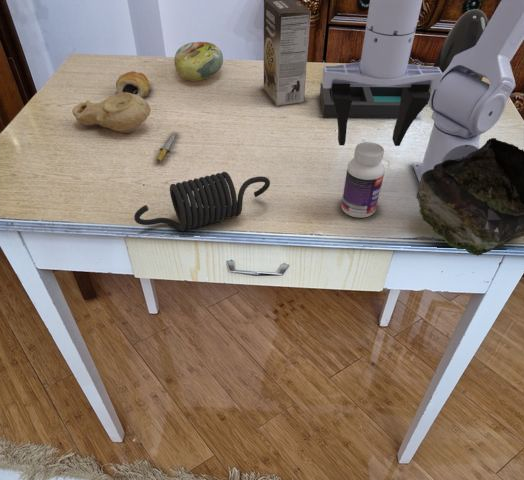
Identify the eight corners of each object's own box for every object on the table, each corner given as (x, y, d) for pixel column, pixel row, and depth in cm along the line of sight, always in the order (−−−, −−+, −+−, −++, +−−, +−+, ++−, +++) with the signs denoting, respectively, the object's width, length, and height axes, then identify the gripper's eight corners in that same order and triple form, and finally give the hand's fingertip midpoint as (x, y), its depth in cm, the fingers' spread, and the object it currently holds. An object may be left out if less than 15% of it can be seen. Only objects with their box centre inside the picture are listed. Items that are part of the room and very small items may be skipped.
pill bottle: (374, 220, 70) (388, 160, 62) (339, 216, 71) (348, 156, 63) (376, 201, 73) (389, 141, 66) (342, 197, 74) (352, 137, 66)
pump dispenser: (479, 107, 95) (510, 20, 83) (427, 103, 96) (451, 16, 84) (473, 87, 101) (501, 3, 89) (425, 83, 102) (446, 0, 90)
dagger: (169, 130, 86) (179, 133, 86) (169, 135, 87) (179, 138, 87) (152, 157, 79) (164, 159, 79) (152, 161, 80) (164, 164, 80)
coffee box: (262, 88, 100) (262, -2, 87) (290, 85, 101) (294, -5, 89) (275, 106, 94) (278, 12, 82) (305, 102, 96) (312, 9, 83)
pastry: (122, 82, 102) (118, 63, 99) (153, 82, 102) (150, 63, 99) (116, 100, 96) (111, 80, 93) (148, 100, 96) (145, 80, 93)
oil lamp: (80, 124, 91) (67, 99, 87) (149, 101, 91) (139, 75, 87) (85, 154, 85) (71, 129, 81) (158, 130, 86) (148, 104, 82)
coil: (264, 204, 75) (272, 241, 70) (137, 201, 71) (135, 239, 66) (270, 164, 69) (279, 201, 64) (132, 158, 65) (130, 197, 60)
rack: (415, 118, 91) (419, 105, 90) (323, 117, 92) (324, 104, 90) (406, 96, 98) (409, 84, 96) (319, 96, 98) (320, 83, 96)
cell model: (172, 79, 98) (165, 26, 102) (186, 106, 105) (179, 56, 110) (219, 61, 96) (210, 9, 100) (231, 90, 103) (222, 40, 108)
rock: (431, 210, 56) (398, 256, 65) (584, 250, 57) (530, 290, 66) (437, 110, 63) (406, 164, 73) (572, 147, 64) (525, 196, 74)
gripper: (444, 17, 56) (414, 129, 67) (325, 15, 56) (314, 128, 66) (459, 37, 52) (425, 153, 62) (331, 35, 51) (318, 152, 62)
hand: (368, 142), depth 64 cm, fingers open, 7 cm apart
